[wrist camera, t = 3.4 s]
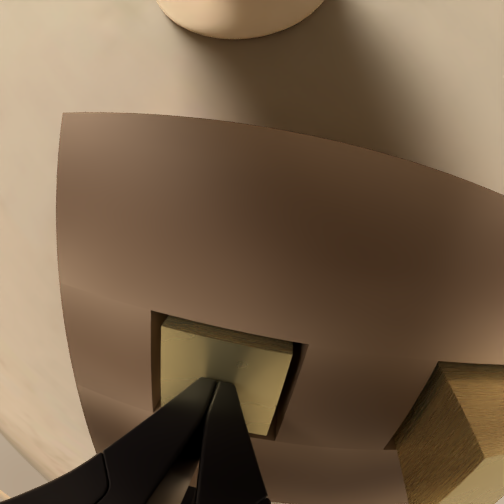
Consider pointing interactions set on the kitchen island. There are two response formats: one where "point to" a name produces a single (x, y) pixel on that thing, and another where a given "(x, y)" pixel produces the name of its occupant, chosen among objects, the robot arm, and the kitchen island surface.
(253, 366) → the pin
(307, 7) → the beer glass
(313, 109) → the kitchen island surface
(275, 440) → the walnut block
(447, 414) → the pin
